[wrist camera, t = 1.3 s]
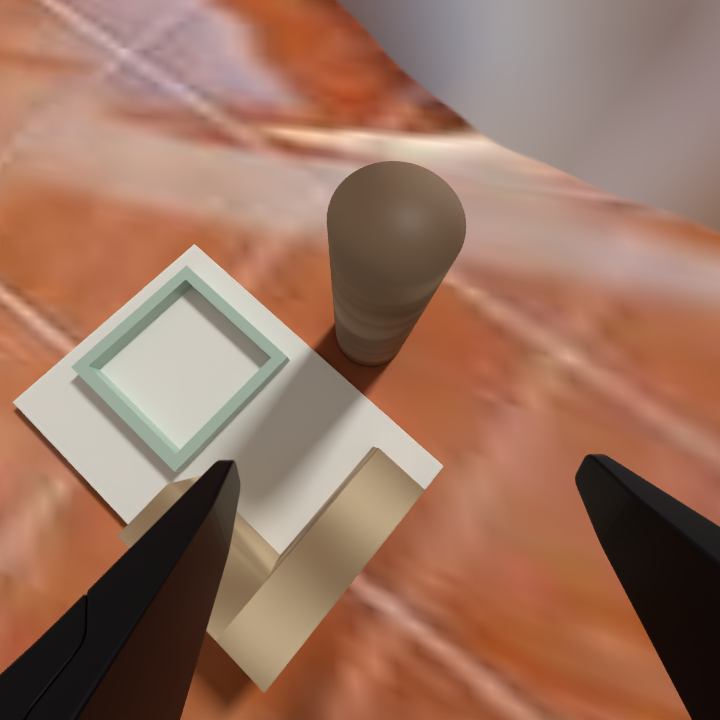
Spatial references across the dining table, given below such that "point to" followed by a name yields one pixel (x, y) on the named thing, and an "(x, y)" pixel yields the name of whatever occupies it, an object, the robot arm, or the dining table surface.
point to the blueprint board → (211, 404)
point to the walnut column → (388, 254)
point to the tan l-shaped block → (294, 564)
